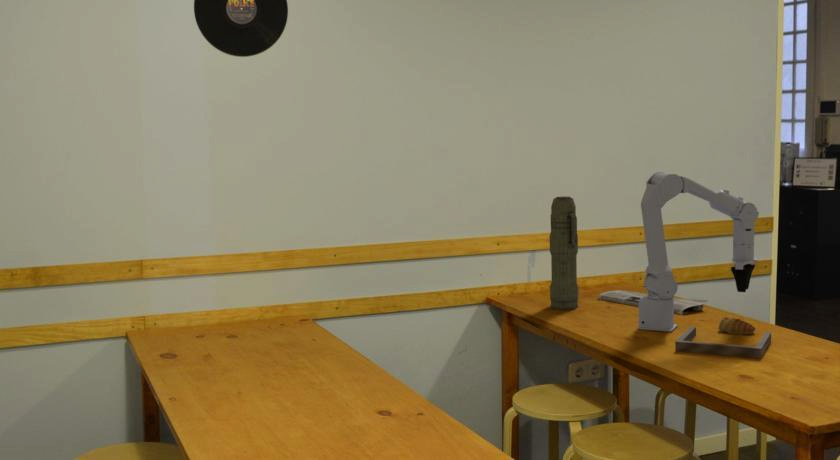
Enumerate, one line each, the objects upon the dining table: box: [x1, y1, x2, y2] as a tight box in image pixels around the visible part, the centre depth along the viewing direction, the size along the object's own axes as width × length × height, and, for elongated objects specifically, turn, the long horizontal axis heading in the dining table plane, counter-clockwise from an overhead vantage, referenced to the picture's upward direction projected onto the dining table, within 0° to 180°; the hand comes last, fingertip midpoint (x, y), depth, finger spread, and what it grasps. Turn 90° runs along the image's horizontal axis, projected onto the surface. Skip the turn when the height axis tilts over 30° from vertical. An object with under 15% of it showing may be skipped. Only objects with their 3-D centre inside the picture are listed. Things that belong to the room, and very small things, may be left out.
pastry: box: [718, 316, 756, 336], centre depth 268 cm, size 9×7×4 cm
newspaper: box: [597, 289, 709, 315], centre depth 308 cm, size 35×12×4 cm, turn 37°
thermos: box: [549, 196, 580, 311], centre depth 306 cm, size 9×12×35 cm
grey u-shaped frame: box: [674, 325, 772, 359], centre depth 253 cm, size 21×18×2 cm
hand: (742, 290), depth 278 cm, fingers open, 4 cm apart
